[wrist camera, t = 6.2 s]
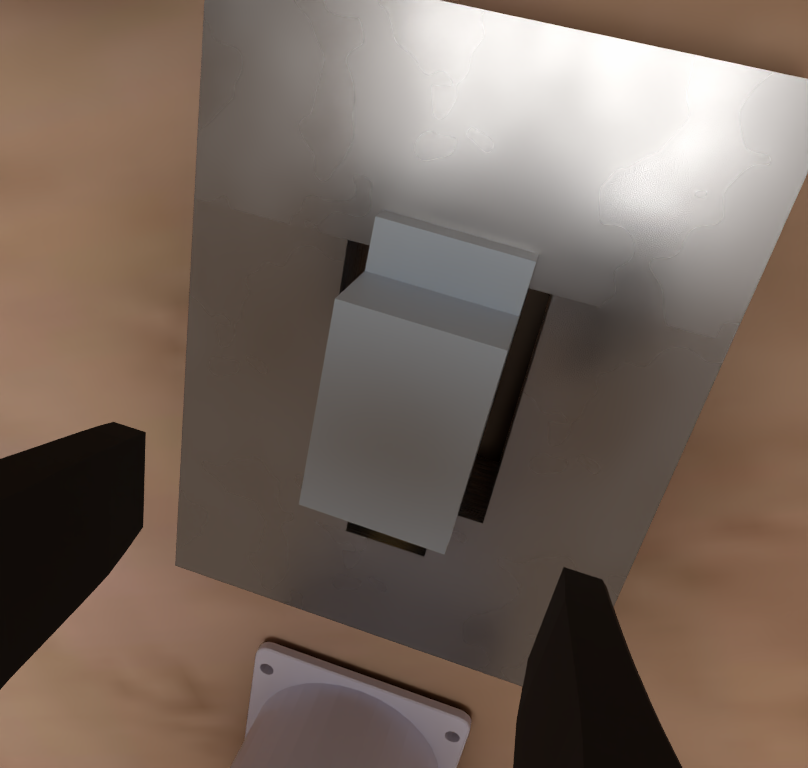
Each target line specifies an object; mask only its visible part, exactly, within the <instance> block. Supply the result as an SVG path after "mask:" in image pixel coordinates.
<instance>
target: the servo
mask: <svg viewBox="0 0 808 768" xmlns="http://www.w3.org/2000/svg"><path fill="white" fill-rule="evenodd" d="M538 255H539V254H536V253H533V252H529V251H526V250H522V249H519V248H515V247H512V246H508V245H505V244H501V243H497V242H494V241H490V240H487V239H483V238H480V237H476V236H473V235H469V234H466V233H462V232H458V231H455V230H451V229H448V228H444V227H441V226H437V225H434V224H430V223H427V222H423V221H419V220H416V219H412V218H409V217H405V216H402V215H398V214H395V213H391V212H387V211H384V210H383V211H382V212H381V213H379V214H378V215H377V216H375V221H374V226H373V231H372V237H371V242H370V247H369V252H368V257H367V263H366V268H365V271H364V272H363V273H362V274H361V275H360V276H359V277H358V278H357V279H356V280H354V281H353V282H352V283H351V284H350V285H349V286H348V287H347V288H346V289H345V290H344V291H343V292H341V293H340V294H339V295H338V296H337V297H336V298H335V301H334V307H333V312H332V318H331V324H330V329H329V335H328V341H327V347H326V352H325V358H324V364H323V369H322V375H321V381H320V386H319V392H318V398H317V403H316V409H315V415H314V421H313V426H312V432H311V438H310V443H309V449H308V455H307V460H306V466H305V472H304V477H303V483H302V489H301V495H300V500H299V505H302V506H305V507H308V508H310V509H313V510H316V511H319V512H322V513H325V514H328V515H331V516H334V517H337V518H339V519H342V520H345V521H348V522H351V523H354V524H357V525H360V526H363V527H366V528H368V529H371V530H374V531H377V532H380V533H383V534H386V535H389V536H392V537H395V538H397V539H400V540H403V541H406V542H409V543H412V544H415V545H418V546H421V547H424V548H426V549H429V550H432V551H435V552H438V553H441V554H444V555H445V552H446V549H447V545H448V543H449V541H450V538H451V535H452V532H453V528H454V525H455V522H456V519H457V516H458V512H459V509H460V506H461V503H462V499H463V496H464V493H465V490H466V487H467V484H468V481H469V478H470V474H471V471H472V468H473V465H474V462H475V459H476V456H477V453H478V450H479V447H480V444H481V441H482V437H483V434H484V431H485V428H486V425H487V422H488V418H489V415H490V412H491V409H492V405H493V402H494V399H495V396H496V393H497V389H498V386H499V383H500V380H501V377H502V373H503V370H504V367H505V364H506V361H507V357H508V354H509V351H510V348H511V344H512V341H513V338H514V335H515V332H516V328H517V325H518V322H519V319H520V316H521V312H522V309H523V306H524V303H525V300H526V296H527V293H528V290H529V288H528V287H529V284H530V281H531V278H532V274H533V271H534V268H535V265H536V261H537V258H538Z"/></svg>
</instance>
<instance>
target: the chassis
mask: <svg viewBox="0 0 808 768" xmlns="http://www.w3.org/2000/svg"><path fill="white" fill-rule="evenodd" d="M807 173H808V79H805V78H800V77H796V76H791V75H786V74H782V73H777V72H772V71H768V70H763V69H758V68H754V67H749V66H744V65H740V64H735V63H730V62H726V61H721V60H716V59H712V58H707V57H702V56H698V55H693V54H688V53H684V52H679V51H674V50H670V49H665V48H660V47H656V46H651V45H646V44H642V43H637V42H632V41H628V40H623V39H618V38H614V37H609V36H604V35H600V34H595V33H590V32H586V31H581V30H576V29H572V28H567V27H562V26H558V25H553V24H548V23H544V22H539V21H534V20H530V19H525V18H520V17H516V16H511V15H506V14H502V13H497V12H492V11H488V10H483V9H478V8H474V7H469V6H464V5H460V4H455V3H450V2H446V1H441V0H205V2H204V21H203V41H202V60H201V79H200V99H199V118H198V137H197V157H196V176H195V195H194V215H193V234H192V253H191V272H190V292H189V311H188V330H187V350H186V369H185V388H184V408H183V427H182V446H181V465H180V485H179V504H178V523H177V543H176V562H175V566H178V567H181V568H184V569H187V570H190V571H193V572H195V573H198V574H201V575H204V576H207V577H210V578H213V579H216V580H218V581H221V582H224V583H227V584H230V585H233V586H236V587H239V588H241V589H244V590H247V591H250V592H253V593H256V594H259V595H261V596H264V597H267V598H270V599H273V600H276V601H279V602H282V603H284V604H287V605H290V606H293V607H296V608H299V609H302V610H304V611H307V612H310V613H313V614H316V615H319V616H322V617H325V618H327V619H330V620H333V621H336V622H339V623H342V624H345V625H347V626H350V627H353V628H356V629H359V630H362V631H365V632H368V633H370V634H373V635H376V636H379V637H382V638H385V639H388V640H390V641H393V642H396V643H399V644H402V645H405V646H408V647H411V648H413V649H416V650H419V651H422V652H425V653H428V654H431V655H433V656H436V657H439V658H442V659H445V660H448V661H451V662H454V663H456V664H459V665H462V666H465V667H468V668H471V669H474V670H476V671H479V672H482V673H485V674H488V675H491V676H494V677H497V678H499V679H502V680H505V681H508V682H511V683H514V684H517V685H519V686H522V687H523V682H524V677H525V672H526V667H527V661H528V657H529V655H530V652H531V650H532V647H533V644H534V642H535V639H536V637H537V634H538V632H539V629H540V626H541V624H542V621H543V619H544V616H545V613H546V611H547V608H548V606H549V603H550V601H551V598H552V595H553V593H554V590H555V588H556V585H557V582H558V580H559V577H560V575H561V572H562V569H563V567H565V568H569V569H572V570H575V571H578V572H581V573H584V574H587V575H590V576H593V577H596V578H600V579H603V581H604V583H605V585H606V587H607V589H608V592H609V595H610V599H611V602H612V605H613V607H614V605H615V602H616V600H617V598H618V596H619V593H620V591H621V589H622V587H623V584H624V582H625V580H626V578H627V575H628V573H629V571H630V569H631V567H632V564H633V562H634V560H635V558H636V555H637V553H638V551H639V549H640V546H641V544H642V542H643V540H644V537H645V535H646V533H647V531H648V528H649V526H650V524H651V522H652V520H653V517H654V515H655V513H656V511H657V508H658V506H659V504H660V502H661V499H662V497H663V495H664V493H665V490H666V488H667V486H668V484H669V481H670V479H671V477H672V475H673V473H674V470H675V468H676V466H677V464H678V461H679V459H680V457H681V455H682V452H683V450H684V448H685V446H686V443H687V441H688V439H689V437H690V435H691V432H692V430H693V428H694V426H695V423H696V421H697V419H698V417H699V414H700V412H701V410H702V408H703V405H704V403H705V401H706V399H707V396H708V394H709V392H710V390H711V388H712V385H713V383H714V381H715V379H716V376H717V374H718V372H719V370H720V367H721V365H722V363H723V361H724V358H725V356H726V354H727V352H728V349H729V347H730V345H731V343H732V341H733V338H734V336H735V334H736V332H737V329H738V327H739V325H740V323H741V320H742V318H743V316H744V314H745V311H746V309H747V307H748V305H749V303H750V300H751V298H752V296H753V294H754V291H755V289H756V287H757V285H758V282H759V280H760V278H761V276H762V273H763V271H764V269H765V267H766V264H767V262H768V260H769V258H770V256H771V253H772V251H773V249H774V247H775V244H776V242H777V240H778V238H779V235H780V233H781V231H782V229H783V226H784V224H785V222H786V220H787V217H788V215H789V213H790V211H791V209H792V206H793V204H794V202H795V200H796V197H797V195H798V193H799V191H800V188H801V186H802V184H803V182H804V179H805V177H806V175H807ZM383 210H384V211H387V212H391V213H395V214H398V215H402V216H405V217H409V218H412V219H416V220H419V221H423V222H427V223H430V224H434V225H437V226H441V227H444V228H448V229H451V230H455V231H458V232H462V233H466V234H469V235H473V236H476V237H480V238H483V239H487V240H490V241H494V242H497V243H501V244H505V245H508V246H512V247H515V248H519V249H522V250H526V251H529V252H533V253H536V254H539V255H538V258H537V261H536V265H535V268H534V271H533V274H532V278H531V281H530V284H529V287H528V288H529V289H533V290H537V291H541V292H544V293H548V294H550V297H549V300H548V304H547V307H546V310H545V313H544V317H543V320H542V323H541V327H540V330H539V333H538V336H537V340H536V343H535V346H534V350H533V353H532V356H531V359H530V363H529V366H528V369H527V373H526V376H525V379H524V382H523V386H522V389H521V392H520V395H519V399H518V402H517V405H516V409H515V412H514V415H513V418H512V422H511V425H510V428H509V432H508V435H507V438H506V441H505V445H504V448H503V451H502V455H501V458H500V461H499V462H496V461H493V460H489V459H486V458H483V457H479V456H476V459H475V462H474V465H473V468H472V471H471V474H470V478H469V481H468V484H467V487H466V490H465V493H464V496H463V499H462V503H461V506H460V509H459V512H458V516H457V519H456V522H455V525H454V528H453V532H452V535H451V538H450V541H449V543H448V545H447V549H446V552H445V555H444V554H441V553H438V552H435V551H432V550H429V549H426V548H424V547H421V546H418V545H415V544H412V543H409V542H406V541H403V540H400V539H397V538H395V537H392V536H389V535H386V534H383V533H380V532H377V531H374V530H371V529H368V528H366V527H363V526H360V525H357V524H354V523H351V522H348V521H345V520H342V519H339V518H337V517H334V516H331V515H328V514H325V513H322V512H319V511H316V510H313V509H310V508H308V507H305V506H302V505H299V500H300V495H301V489H302V483H303V477H304V472H305V466H306V460H307V455H308V449H309V443H310V438H311V432H312V426H313V421H314V415H315V409H316V403H317V398H318V392H319V386H320V381H321V375H322V369H323V364H324V358H325V352H326V347H327V341H328V335H329V329H330V324H331V318H332V312H333V307H334V301H335V298H336V297H337V296H338V295H339V294H340V293H341V292H343V291H344V290H345V289H346V288H347V287H348V286H349V285H350V284H351V283H352V282H353V281H354V280H356V279H357V278H358V277H359V276H360V275H361V274H362V273H363V272H364V271H365V268H366V263H367V257H368V252H369V247H370V242H371V237H372V231H373V226H374V221H375V216H377V215H378V214H379V213H381V212H382V211H383Z"/></svg>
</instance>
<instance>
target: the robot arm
mask: <svg viewBox="0 0 808 768" xmlns="http://www.w3.org/2000/svg"><path fill="white" fill-rule="evenodd" d="M145 435H146V432H143V431H140V430H137V429H134V428H131V427H128V426H124V425H121V424H118V423H115V422H112V423H108V424H104V425H101V426H97V427H94V428H91V429H88V430H85V431H81V432H78V433H75V434H72V435H69V436H67V437H64V438H61V439H58V440H55V441H52V442H49V443H46V444H43V445H40V446H37V447H34V448H31V449H29V450H26V451H23V452H20V453H17V454H14V455H11V456H8V457H5V458H2V459H0V689H1V688H2V687H3V686H4V685H5V684H6V682H7V681H8V680H9V679H10V678H11V677H12V676H13V675H14V674H15V673H16V672H17V671H18V670H19V669H20V667H21V666H22V665H23V664H24V663H25V662H26V661H27V660H28V659H29V658H30V657H31V656H32V655H33V654H34V653H35V652H36V651H37V650H38V649H39V648H40V647H41V646H42V644H43V643H44V642H45V641H46V640H47V639H48V638H49V637H50V636H51V635H52V634H53V633H54V632H55V631H56V630H57V629H58V628H59V627H60V626H61V625H62V624H63V623H64V622H65V620H66V619H67V618H68V617H69V616H70V615H71V614H72V613H73V612H74V611H75V610H76V609H77V608H78V607H79V606H80V605H81V604H82V603H83V601H84V600H85V599H86V598H87V597H88V596H89V595H90V594H91V593H92V592H93V591H94V590H95V589H96V588H97V587H98V585H99V584H100V583H101V582H102V581H103V580H104V579H105V578H106V577H107V576H108V575H109V573H110V572H111V571H112V569H113V568H114V567H115V565H116V564H117V563H118V561H119V560H120V559H121V557H122V556H123V555H124V553H125V552H126V550H127V549H128V548H129V546H130V545H131V543H132V542H133V540H134V539H135V538H136V536H137V535H138V533H139V532H140V530H141V529H142V528H143V510H144V473H145ZM470 727H471V718H470V716H469V715H468V714H467V713H466V712H464V711H462V710H460V709H457V708H455V707H452V706H449V705H446V704H443V703H441V702H438V701H435V700H432V699H429V698H427V697H424V696H421V695H418V694H415V693H413V692H410V691H407V690H404V689H401V688H399V687H396V686H393V685H390V684H388V683H385V682H382V681H379V680H376V679H374V678H371V677H368V676H365V675H362V674H360V673H357V672H354V671H351V670H348V669H346V668H343V667H340V666H337V665H334V664H332V663H329V662H326V661H323V660H320V659H318V658H315V657H312V656H309V655H306V654H304V653H301V652H298V651H295V650H293V649H290V648H287V647H284V646H281V645H279V644H276V643H272V642H264V643H262V644H261V645H260V647H259V649H258V650H257V652H256V656H255V664H254V671H253V679H252V687H251V694H250V702H249V709H248V717H247V725H246V732H245V740H244V742H243V744H242V746H241V747H240V749H239V751H238V753H237V755H236V757H235V759H234V761H233V763H232V765H231V766H230V768H457V765H458V763H459V760H460V757H461V754H462V751H463V749H464V746H465V743H466V740H467V738H468V735H469V732H470ZM513 768H682V766H681V764H680V762H679V760H678V758H677V756H676V754H675V752H674V750H673V748H672V746H671V744H670V742H669V740H668V738H667V736H666V734H665V732H664V730H663V728H662V726H661V724H660V721H659V719H658V717H657V715H656V713H655V711H654V708H653V706H652V704H651V702H650V699H649V697H648V695H647V692H646V690H645V688H644V685H643V683H642V681H641V678H640V676H639V674H638V671H637V669H636V667H635V664H634V662H633V659H632V657H631V654H630V652H629V649H628V646H627V644H626V641H625V638H624V636H623V633H622V630H621V627H620V625H619V622H618V619H617V616H616V613H615V610H614V608H613V605H612V602H611V599H610V595H609V592H608V589H607V587H606V585H605V583H604V581H603V579H600V578H596V577H593V576H590V575H587V574H584V573H581V572H578V571H575V570H572V569H569V568H565V567H563V569H562V572H561V575H560V577H559V580H558V582H557V585H556V588H555V590H554V593H553V595H552V598H551V601H550V603H549V606H548V608H547V611H546V613H545V616H544V619H543V621H542V624H541V626H540V629H539V632H538V634H537V637H536V639H535V642H534V644H533V647H532V650H531V652H530V655H529V657H528V661H527V667H526V672H525V677H524V682H523V688H522V693H521V699H520V704H519V710H518V716H517V723H516V736H515V750H514V764H513Z"/></svg>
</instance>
